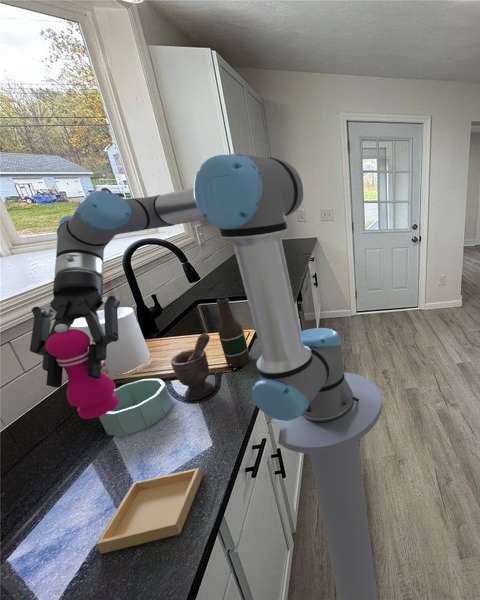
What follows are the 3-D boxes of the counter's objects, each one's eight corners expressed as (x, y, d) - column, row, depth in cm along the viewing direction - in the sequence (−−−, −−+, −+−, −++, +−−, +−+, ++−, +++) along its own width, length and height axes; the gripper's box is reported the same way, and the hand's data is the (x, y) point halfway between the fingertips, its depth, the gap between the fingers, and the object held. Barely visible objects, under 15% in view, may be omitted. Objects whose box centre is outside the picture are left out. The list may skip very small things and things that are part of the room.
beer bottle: (254, 360, 112) (239, 298, 103) (231, 370, 106) (213, 305, 98) (245, 353, 117) (230, 293, 108) (223, 362, 111) (205, 299, 103)
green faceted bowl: (180, 393, 96) (173, 374, 93) (156, 429, 82) (147, 407, 79) (115, 404, 92) (106, 384, 90) (80, 443, 78) (68, 421, 76)
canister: (154, 351, 122) (136, 303, 114) (148, 370, 109) (128, 318, 102) (100, 364, 114) (78, 314, 107) (88, 386, 101) (61, 331, 94)
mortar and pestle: (229, 379, 101) (213, 324, 94) (224, 395, 94) (206, 336, 86) (188, 388, 98) (168, 331, 91) (180, 405, 90) (157, 345, 83)
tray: (202, 476, 68) (199, 467, 67) (179, 534, 57) (175, 524, 56) (138, 490, 65) (133, 481, 64) (101, 553, 54) (95, 544, 53)
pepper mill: (70, 425, 62) (22, 336, 55) (85, 404, 68) (43, 321, 61) (116, 413, 65) (75, 327, 58) (126, 394, 71) (91, 313, 64)
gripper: (8, 276, 62) (-9, 391, 54) (122, 263, 69) (123, 363, 60) (36, 294, 68) (25, 399, 60) (138, 280, 75) (141, 373, 67)
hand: (74, 381), depth 60 cm, fingers closed on pepper mill, 5 cm apart
